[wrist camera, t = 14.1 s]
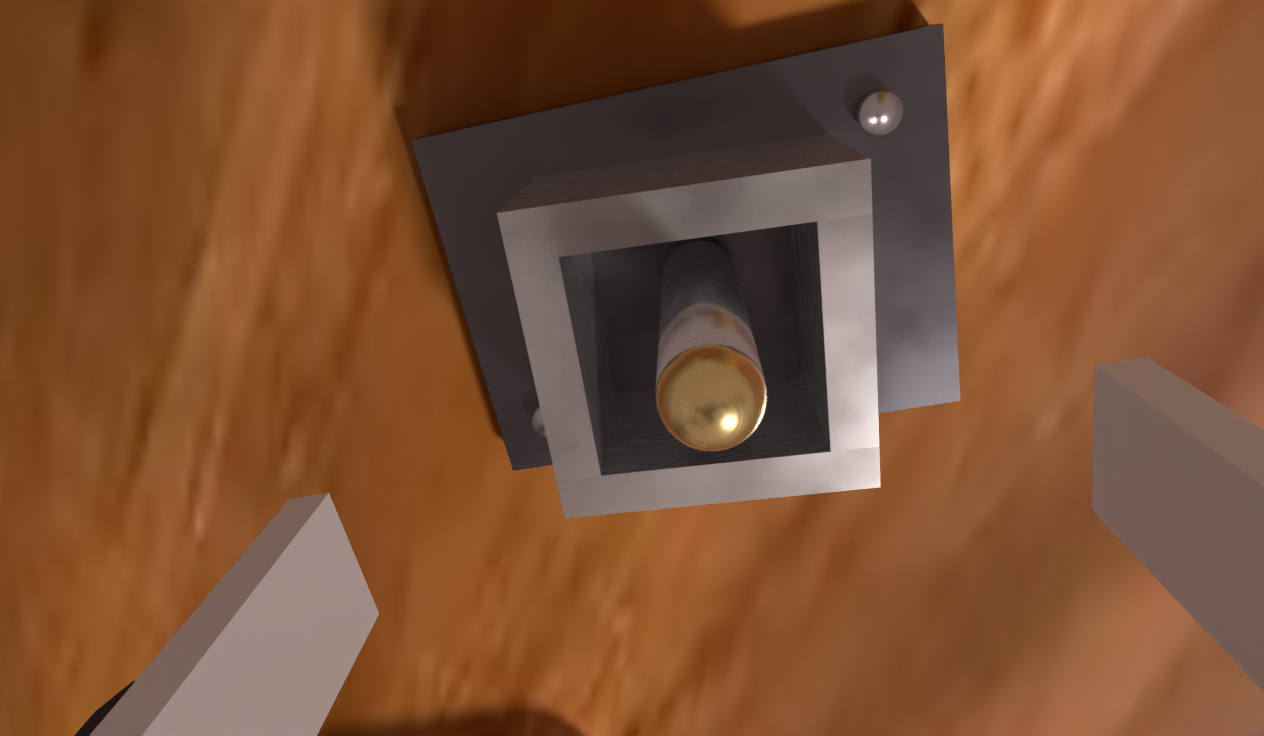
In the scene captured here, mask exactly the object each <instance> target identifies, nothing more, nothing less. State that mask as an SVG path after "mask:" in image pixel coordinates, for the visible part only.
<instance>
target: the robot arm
mask: <svg viewBox="0 0 1264 736" xmlns="http://www.w3.org/2000/svg"><path fill="white" fill-rule="evenodd" d="M1092 511H1093V512H1094V513H1095V514H1096V515H1097V516H1098V517H1099V518H1100V519H1101V520H1102V521H1103V522H1104V523H1105V524H1106V526H1107V527H1108V528H1109V529H1110V530H1111V531H1112V532H1113V533H1114V534H1115V535H1116V536H1117V537H1118V538H1119V539H1120V540H1121V541H1122V543H1123V544H1124V545H1125V546H1126V547H1127V548H1128V549H1129V550H1130V551H1131V552H1132V553H1133V554H1134V555H1135V556H1136V557H1137V558H1138V560H1139V561H1140V562H1141V563H1142V564H1143V565H1144V566H1145V567H1146V568H1147V569H1148V570H1149V571H1150V572H1151V573H1152V574H1153V575H1154V577H1155V578H1156V579H1157V580H1158V581H1159V582H1160V583H1161V584H1162V585H1163V586H1164V587H1165V588H1166V589H1167V590H1168V591H1169V592H1170V594H1171V595H1172V596H1173V597H1174V598H1175V599H1176V600H1177V601H1178V602H1179V603H1180V604H1181V605H1182V606H1183V607H1184V608H1185V609H1186V611H1187V612H1188V613H1189V614H1190V615H1191V616H1192V617H1193V618H1194V619H1195V620H1196V621H1197V622H1198V623H1199V624H1200V625H1201V626H1202V627H1203V629H1204V630H1205V631H1206V632H1207V633H1208V634H1209V635H1210V636H1211V637H1212V638H1213V639H1214V640H1215V641H1216V642H1217V643H1218V644H1219V646H1220V647H1221V648H1222V649H1223V650H1224V651H1225V652H1226V653H1227V654H1228V655H1229V656H1230V657H1231V658H1232V659H1233V660H1234V661H1235V663H1236V664H1237V665H1238V666H1239V667H1240V668H1241V669H1242V670H1243V671H1244V672H1245V673H1246V674H1247V675H1248V676H1249V677H1250V678H1251V680H1252V681H1253V682H1254V683H1255V684H1256V685H1257V686H1258V687H1259V688H1260V689H1261V690H1262V691H1263V692H1264V430H1263V429H1261V428H1259V427H1258V426H1256V425H1255V424H1253V423H1251V422H1250V421H1248V420H1247V419H1245V418H1243V417H1242V416H1240V415H1239V414H1237V413H1235V412H1234V411H1232V410H1230V409H1229V408H1227V407H1226V406H1224V405H1222V404H1221V403H1219V402H1218V401H1216V400H1214V399H1213V398H1211V397H1210V396H1208V395H1206V394H1205V393H1203V392H1202V391H1200V390H1198V389H1197V388H1195V387H1194V386H1192V385H1190V384H1189V383H1187V382H1186V381H1184V380H1182V379H1181V378H1179V377H1178V376H1176V375H1174V374H1173V373H1171V372H1170V371H1168V370H1166V369H1165V368H1163V367H1162V366H1160V365H1158V364H1157V363H1155V362H1154V361H1152V360H1150V359H1149V358H1147V357H1142V358H1136V359H1130V360H1124V361H1118V362H1112V363H1106V364H1100V365H1095V401H1094V442H1093V483H1092ZM378 615H379V612H378V610H377V607H376V605H375V603H374V600H373V598H372V595H371V593H370V591H369V588H368V586H367V583H366V581H365V579H364V576H363V574H362V571H361V569H360V567H359V564H358V562H357V559H356V557H355V555H354V552H353V550H352V547H351V545H350V543H349V540H348V538H347V535H346V533H345V531H344V528H343V526H342V524H341V521H340V519H339V516H338V514H337V512H336V509H335V507H334V504H333V502H332V500H331V497H330V495H329V493H325V494H319V495H313V496H307V497H301V498H295V499H289V500H288V501H287V503H286V504H285V505H284V506H283V507H282V509H281V510H280V511H279V512H278V513H277V514H276V516H275V517H274V518H273V519H272V520H271V522H270V523H269V524H268V525H267V526H266V527H265V529H264V530H263V531H262V532H261V533H260V535H259V536H258V537H257V538H256V539H255V540H254V542H253V543H252V544H251V545H250V546H249V548H248V549H247V550H246V551H245V552H244V553H243V555H242V556H241V557H240V558H239V559H238V561H237V562H236V563H235V564H234V565H233V566H232V568H231V569H230V570H229V571H228V572H227V574H226V575H225V576H224V577H223V578H222V579H221V581H220V582H219V583H218V584H217V585H216V587H215V588H214V589H213V590H212V591H211V592H210V594H209V595H208V596H207V597H206V598H205V600H204V601H203V602H202V603H201V604H200V605H199V607H198V608H197V609H196V610H195V611H194V613H193V614H192V615H191V616H190V617H189V618H188V620H187V621H186V622H185V623H184V624H183V626H182V627H181V628H180V629H179V630H178V631H177V633H176V634H175V635H174V636H173V637H172V639H171V640H170V641H169V642H168V643H167V644H166V646H165V647H164V648H163V649H162V650H161V652H160V653H159V654H158V655H157V656H156V657H155V659H154V660H153V661H152V662H151V663H150V665H149V666H148V667H147V668H146V669H145V670H144V672H143V673H142V674H141V675H140V676H139V678H138V679H137V680H136V681H133V682H131V683H130V684H129V685H128V686H126V687H125V688H124V689H123V690H121V691H120V692H119V693H118V694H117V695H115V696H114V697H113V698H112V699H110V700H109V701H108V702H107V703H105V704H104V705H103V706H102V707H100V708H99V709H98V710H97V711H95V713H94V714H93V715H92V716H91V717H90V718H89V719H88V721H87V722H86V723H85V724H84V725H83V726H82V728H81V729H80V730H79V731H78V732H77V733H76V734H75V736H317V734H318V732H319V730H320V728H321V726H322V724H323V723H324V721H325V719H326V717H327V715H328V713H329V711H330V709H331V707H332V705H333V703H334V701H335V699H336V697H337V695H338V693H339V691H340V689H341V687H342V685H343V683H344V681H345V679H346V678H347V676H348V674H349V672H350V670H351V668H352V666H353V664H354V662H355V660H356V658H357V656H358V654H359V652H360V650H361V648H362V646H363V644H364V642H365V640H366V638H367V636H368V635H369V633H370V631H371V629H372V627H373V625H374V623H375V621H376V619H377V617H378Z"/></svg>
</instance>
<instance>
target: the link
mask: <svg viewBox="0 0 1264 736" xmlns="http://www.w3.org/2000/svg"><path fill="white" fill-rule="evenodd" d="M497 216H498V221H499V225H500V230H501V234H502V239H503V243H504V248H505V252H506V257H507V261H508V266H509V270H510V275H511V279H512V283H513V288H514V292H515V297H516V301H517V306H518V310H519V315H520V319H521V324H522V328H523V333H524V337H525V342H526V346H527V351H528V355H529V360H530V364H531V369H532V373H533V378H534V382H535V387H536V391H537V396H538V400H539V405H540V409H541V414H542V418H543V423H544V427H545V432H546V436H547V441H548V445H549V450H550V454H551V458H552V463H553V467H554V472H555V476H556V481H557V485H558V490H559V494H560V499H561V503H562V508H563V512H564V517H565V518H574V517H584V516H594V515H604V514H615V513H625V512H635V511H645V510H655V509H665V508H675V507H685V506H695V505H706V504H716V503H726V502H736V501H746V500H756V499H766V498H776V497H787V496H797V495H807V494H817V493H827V492H837V491H847V490H857V489H867V488H878V487H880V456H879V422H878V387H877V353H876V319H875V285H874V251H873V216H872V182H871V158H869V157H867V156H866V155H864V154H862V153H861V152H859V151H857V150H855V149H854V148H852V147H850V146H849V145H847V144H845V143H844V142H842V141H840V140H838V139H837V138H835V137H833V136H832V135H830V134H828V133H823V134H817V135H810V136H803V137H797V138H790V139H783V140H777V141H770V142H763V143H757V144H750V145H744V146H737V147H730V148H724V149H717V150H710V151H704V152H697V153H690V154H684V155H677V156H670V157H664V158H657V159H650V160H644V161H637V162H630V163H624V164H617V165H610V166H604V167H597V168H590V169H584V170H577V171H570V172H564V173H557V174H550V175H544V176H537V177H534V178H533V179H532V180H531V181H530V182H529V183H528V184H527V185H526V186H525V187H524V188H523V189H522V190H521V191H520V192H519V193H517V194H516V195H515V196H514V197H513V198H512V199H511V200H510V201H509V202H508V203H507V204H506V205H505V206H504V207H503V208H502V209H501V210H499V211H498V212H497ZM788 225H790V236H791V250H792V264H793V278H794V291H795V305H796V319H797V333H798V347H799V361H800V372H792V373H783V374H774V375H766V376H764V378H765V383H766V388H767V404H766V409H765V413H764V415H763V418H762V420H761V422H760V424H759V425H758V427H757V428H756V430H755V431H754V432H753V433H752V434H751V435H750V436H749V437H748V438H747V439H746V440H744V441H743V442H741V443H740V444H738V445H736V446H734V447H732V448H729V449H725V450H720V451H703V450H698V449H694V448H692V447H689V446H687V445H685V444H683V443H681V442H680V441H679V440H677V439H676V438H675V437H674V436H673V435H672V434H671V433H670V432H669V431H668V430H667V429H666V427H665V426H664V424H663V423H662V420H661V418H660V416H659V413H658V410H657V406H656V388H654V389H646V390H637V391H629V392H620V393H615V387H614V382H613V376H612V370H611V365H610V359H609V354H608V348H607V342H606V337H605V331H604V326H603V320H602V314H601V309H600V303H599V298H598V292H597V286H596V281H595V275H594V269H593V264H592V258H591V253H592V252H599V251H606V250H613V249H621V248H628V247H635V246H642V245H650V244H657V243H664V242H671V241H679V240H686V239H693V238H700V237H708V236H715V235H722V234H730V233H737V232H744V231H751V230H759V229H766V228H773V227H780V226H788Z"/></svg>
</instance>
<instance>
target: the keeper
mask: <svg viewBox="0 0 1264 736" xmlns="http://www.w3.org/2000/svg"><path fill="white" fill-rule="evenodd" d="M823 133H828V134H830V135H832V136H833V137H835V138H837V139H838V140H840V141H842V142H844V143H845V144H847V145H849V146H850V147H852V148H854V149H855V150H857V151H859V152H861V153H862V154H864V155H866V156H867V157H869V158H871V182H872V216H873V251H874V285H875V319H876V353H877V387H878V413H884V412H890V411H897V410H903V409H910V408H916V407H922V406H929V405H935V404H941V403H948V402H954V401H960V386H959V364H958V342H957V320H956V298H955V276H954V254H953V232H952V210H951V188H950V166H949V144H948V122H947V100H946V78H945V56H944V34H943V24H931V25H926V26H921V27H917V28H912V29H907V30H903V31H898V32H894V33H889V34H885V35H880V36H876V37H871V38H867V39H862V40H858V41H853V42H848V43H844V44H839V45H835V46H830V47H826V48H821V49H817V50H812V51H808V52H803V53H799V54H794V55H790V56H785V57H780V58H776V59H771V60H767V61H762V62H758V63H753V64H749V65H744V66H740V67H735V68H731V69H726V70H722V71H717V72H712V73H708V74H703V75H699V76H694V77H690V78H685V79H681V80H676V81H672V82H667V83H663V84H658V85H653V86H649V87H644V88H640V89H635V90H631V91H626V92H622V93H617V94H613V95H608V96H604V97H599V98H595V99H590V100H585V101H581V102H576V103H572V104H567V105H563V106H558V107H554V108H549V109H545V110H540V111H536V112H531V113H527V114H522V115H517V116H513V117H508V118H504V119H499V120H495V121H490V122H486V123H481V124H477V125H472V126H468V127H463V128H458V129H454V130H449V131H445V132H440V133H436V134H431V135H427V136H422V137H420V138H417V139H414V140H411V143H412V147H413V150H414V153H415V156H416V159H417V163H418V166H419V169H420V172H421V176H422V179H423V182H424V185H425V188H426V192H427V195H428V198H429V201H430V205H431V208H432V211H433V214H434V217H435V221H436V224H437V227H438V230H439V234H440V237H441V240H442V243H443V246H444V250H445V253H446V256H447V259H448V263H449V266H450V269H451V272H452V275H453V279H454V282H455V285H456V288H457V291H458V295H459V298H460V301H461V304H462V308H463V311H464V314H465V317H466V320H467V324H468V327H469V330H470V333H471V337H472V340H473V343H474V346H475V349H476V353H477V356H478V359H479V362H480V366H481V369H482V372H483V375H484V378H485V382H486V385H487V388H488V391H489V394H490V398H491V401H492V404H493V407H494V411H495V414H496V417H497V420H498V423H499V427H500V430H501V433H502V436H503V440H504V443H505V446H506V449H507V452H508V456H509V459H510V462H511V465H512V469H513V471H514V470H520V469H527V468H533V467H539V466H546V465H552V464H553V463H552V458H551V454H550V450H549V445H548V441H547V436H546V432H545V427H544V423H543V418H542V414H541V409H540V405H539V400H538V396H537V391H536V387H535V382H534V378H533V373H532V369H531V364H530V360H529V355H528V351H527V346H526V342H525V337H524V333H523V328H522V324H521V319H520V315H519V310H518V306H517V301H516V297H515V292H514V288H513V283H512V279H511V275H510V270H509V266H508V261H507V257H506V252H505V248H504V243H503V239H502V234H501V230H500V225H499V221H498V216H497V212H498V211H499V210H501V209H502V208H503V207H504V206H505V205H506V204H507V203H508V202H509V201H510V200H511V199H512V198H513V197H514V196H515V195H516V194H517V193H519V192H520V191H521V190H522V189H523V188H524V187H525V186H526V185H527V184H528V183H529V182H530V181H531V180H532V179H533V178H534V177H537V176H544V175H550V174H557V173H564V172H570V171H577V170H584V169H590V168H597V167H604V166H610V165H617V164H624V163H630V162H637V161H644V160H650V159H657V158H664V157H670V156H677V155H684V154H690V153H697V152H704V151H710V150H717V149H724V148H730V147H737V146H744V145H750V144H757V143H763V142H770V141H777V140H783V139H790V138H797V137H803V136H810V135H817V134H823ZM591 258H592V264H593V269H594V275H595V281H596V286H597V292H598V298H599V303H600V309H601V314H602V320H603V326H604V331H605V337H606V342H607V348H608V354H609V359H610V365H611V370H612V376H613V382H614V387H615V393H620V392H629V391H637V390H646V389H654V388H656V406H657V410H658V413H659V416H660V418H661V420H662V423H663V424H664V426H665V427H666V429H667V430H668V431H669V432H670V433H671V434H672V435H673V436H674V437H675V438H676V439H677V440H679V441H680V442H681V443H683V444H685V445H687V446H689V447H692V448H694V449H698V450H703V451H720V450H725V449H729V448H732V447H734V446H736V445H738V444H740V443H741V442H743V441H744V440H746V439H747V438H748V437H749V436H750V435H751V434H752V433H753V432H754V431H755V430H756V428H757V427H758V425H759V424H760V422H761V420H762V418H763V415H764V413H765V409H766V404H767V388H766V383H765V378H764V376H766V375H774V374H783V373H792V372H800V361H799V347H798V333H797V319H796V305H795V291H794V278H793V264H792V250H791V236H790V225H788V226H780V227H773V228H766V229H759V230H751V231H744V232H737V233H730V234H722V235H715V236H708V237H700V238H693V239H686V240H679V241H671V242H664V243H657V244H650V245H642V246H635V247H628V248H621V249H613V250H606V251H599V252H592V253H591Z"/></svg>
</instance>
